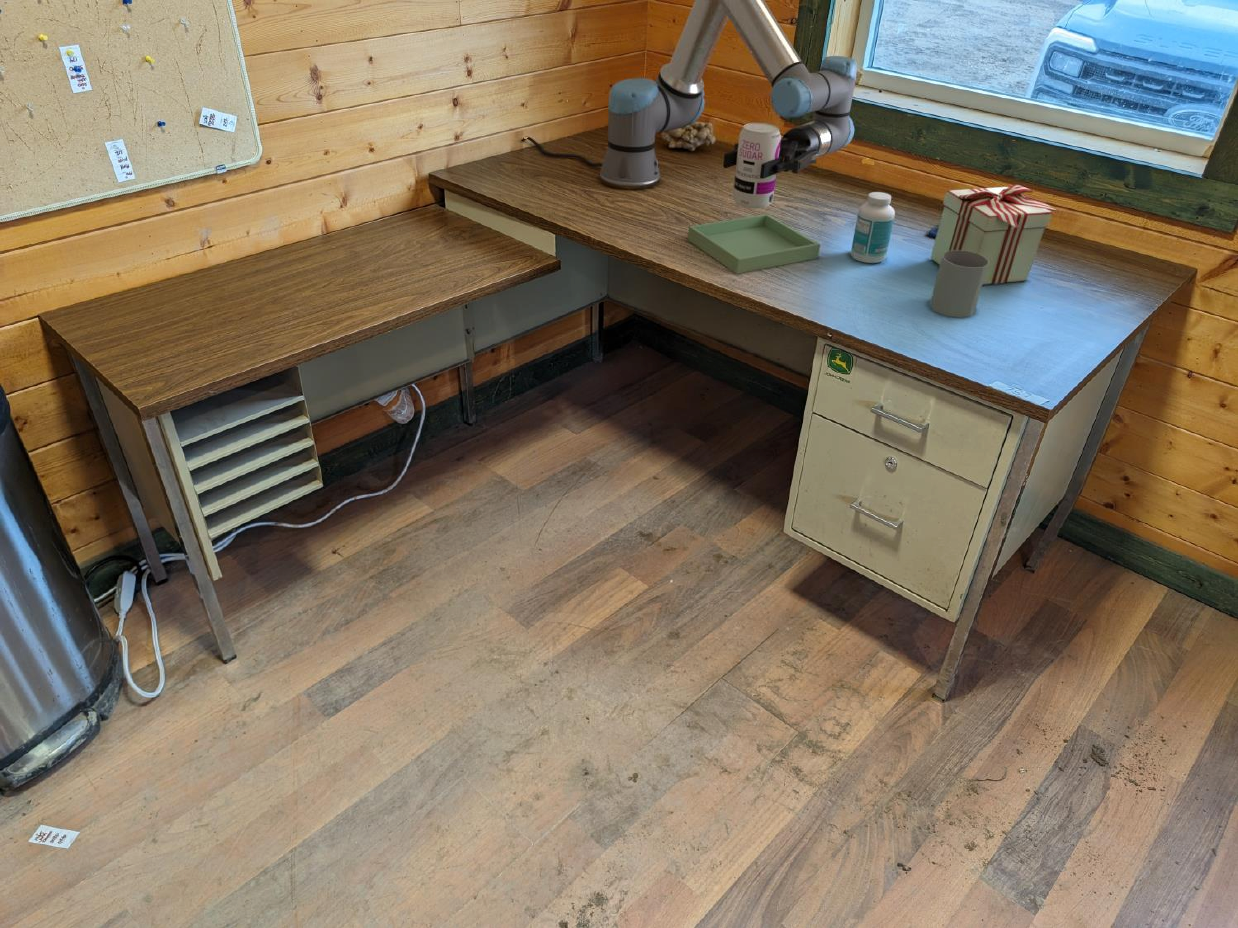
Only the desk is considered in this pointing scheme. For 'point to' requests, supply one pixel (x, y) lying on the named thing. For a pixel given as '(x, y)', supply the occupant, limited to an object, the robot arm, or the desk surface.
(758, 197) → the supplement can
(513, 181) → the desk surface
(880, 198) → the pill bottle
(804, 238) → the tray
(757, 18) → the robot arm
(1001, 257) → the gift box
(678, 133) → the mineral formation
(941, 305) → the cup
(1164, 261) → the desk surface
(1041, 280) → the desk surface
